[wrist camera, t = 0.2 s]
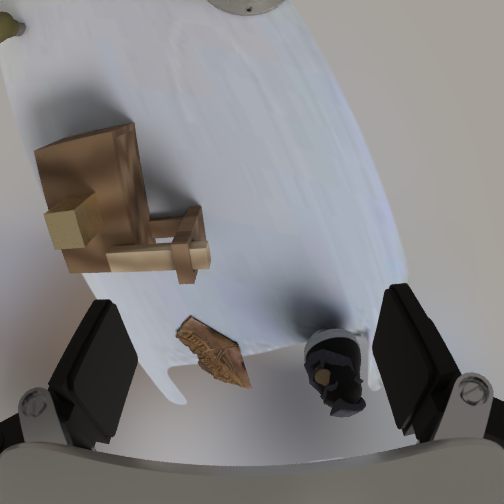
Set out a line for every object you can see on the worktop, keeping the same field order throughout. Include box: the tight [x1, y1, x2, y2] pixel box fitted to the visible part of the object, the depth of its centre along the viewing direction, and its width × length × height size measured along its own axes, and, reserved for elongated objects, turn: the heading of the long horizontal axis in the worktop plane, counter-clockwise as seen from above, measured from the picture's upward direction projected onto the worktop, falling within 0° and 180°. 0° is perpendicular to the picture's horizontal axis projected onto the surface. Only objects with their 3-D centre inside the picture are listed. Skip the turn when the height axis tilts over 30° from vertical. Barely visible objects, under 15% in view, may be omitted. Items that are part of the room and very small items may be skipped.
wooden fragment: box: [176, 316, 252, 389], centre depth 64 cm, size 26×11×1 cm, turn 24°
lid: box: [34, 130, 138, 273], centre depth 37 cm, size 20×13×8 cm, turn 3°
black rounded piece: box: [304, 328, 366, 417], centre depth 52 cm, size 11×11×20 cm
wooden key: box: [106, 241, 211, 272], centre depth 41 cm, size 3×14×2 cm, turn 93°
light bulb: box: [0, 12, 26, 43], centre depth 26 cm, size 6×6×10 cm
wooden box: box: [42, 123, 206, 284], centre depth 40 cm, size 20×22×12 cm
